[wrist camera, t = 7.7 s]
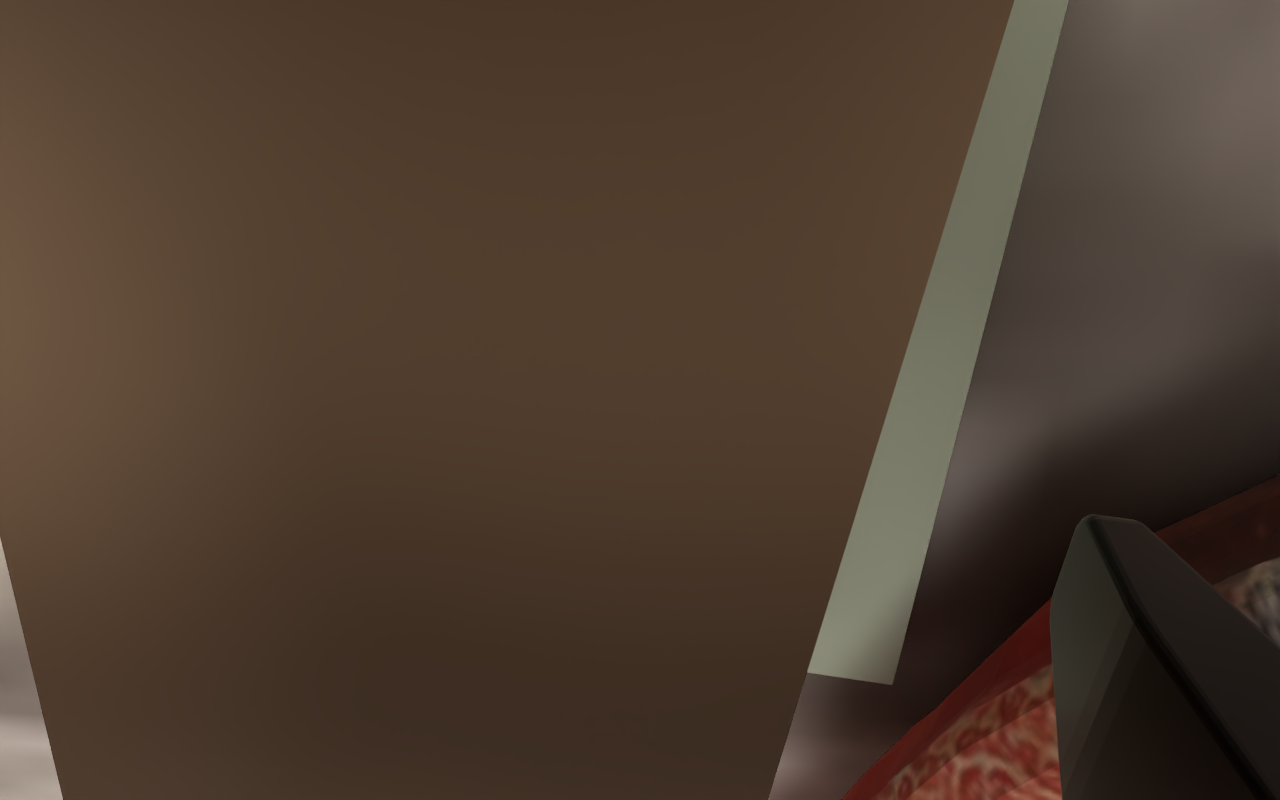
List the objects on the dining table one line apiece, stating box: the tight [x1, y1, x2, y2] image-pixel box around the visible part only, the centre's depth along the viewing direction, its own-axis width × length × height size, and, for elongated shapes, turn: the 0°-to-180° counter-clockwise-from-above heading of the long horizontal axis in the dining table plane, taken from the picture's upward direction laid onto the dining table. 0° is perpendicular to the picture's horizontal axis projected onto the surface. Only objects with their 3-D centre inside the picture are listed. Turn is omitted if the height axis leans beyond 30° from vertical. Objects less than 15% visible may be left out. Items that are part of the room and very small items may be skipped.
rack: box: [807, 0, 1069, 685], centre depth 13 cm, size 14×9×4 cm, turn 177°
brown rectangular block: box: [0, 0, 1014, 800], centre depth 9 cm, size 12×4×5 cm, turn 173°
